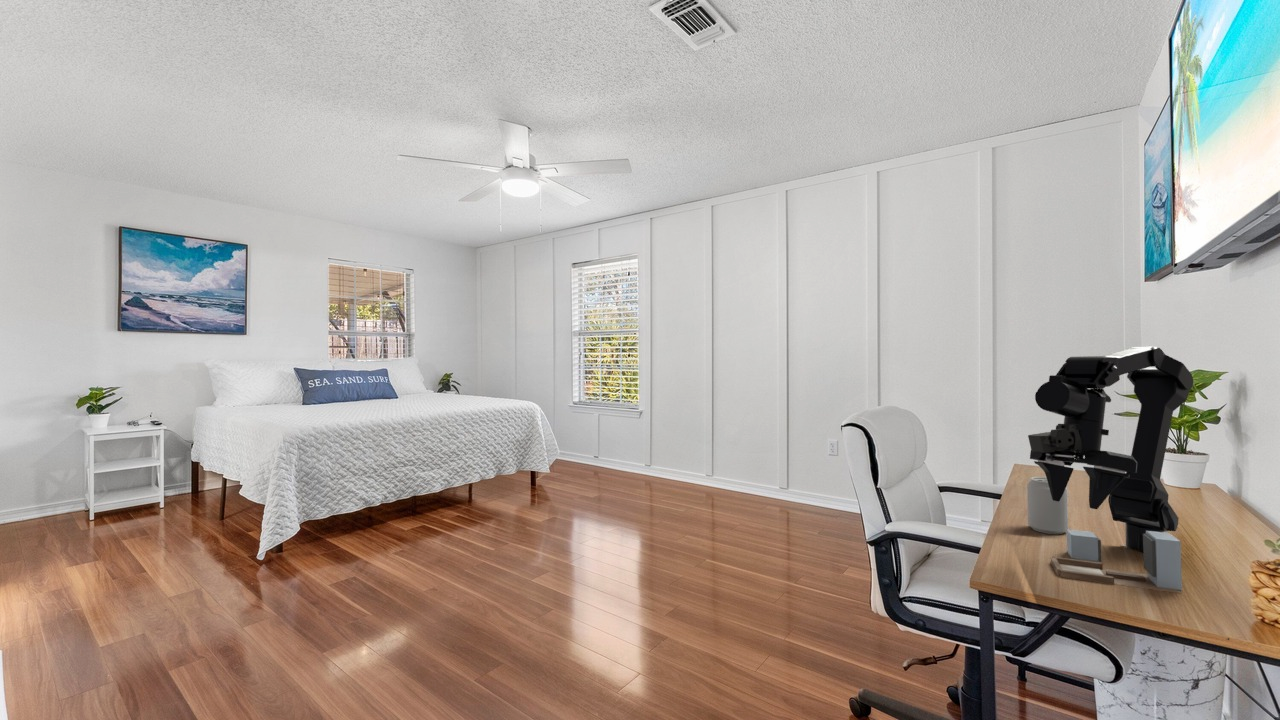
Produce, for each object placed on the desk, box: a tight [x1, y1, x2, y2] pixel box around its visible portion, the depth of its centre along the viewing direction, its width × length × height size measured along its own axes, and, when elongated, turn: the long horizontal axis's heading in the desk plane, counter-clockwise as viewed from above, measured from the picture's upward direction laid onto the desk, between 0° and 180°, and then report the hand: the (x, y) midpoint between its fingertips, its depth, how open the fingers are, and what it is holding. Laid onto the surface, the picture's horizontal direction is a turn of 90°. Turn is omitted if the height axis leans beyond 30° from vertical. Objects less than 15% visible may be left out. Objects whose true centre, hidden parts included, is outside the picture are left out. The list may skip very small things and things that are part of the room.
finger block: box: [1066, 528, 1102, 562], centre depth 105 cm, size 4×4×6 cm
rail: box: [1049, 556, 1182, 594], centre depth 95 cm, size 8×16×2 cm, turn 61°
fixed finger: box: [1142, 531, 1183, 591], centre depth 92 cm, size 5×4×8 cm
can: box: [1026, 476, 1069, 535], centre depth 126 cm, size 8×8×12 cm
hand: (1073, 504), depth 100 cm, fingers open, 9 cm apart
